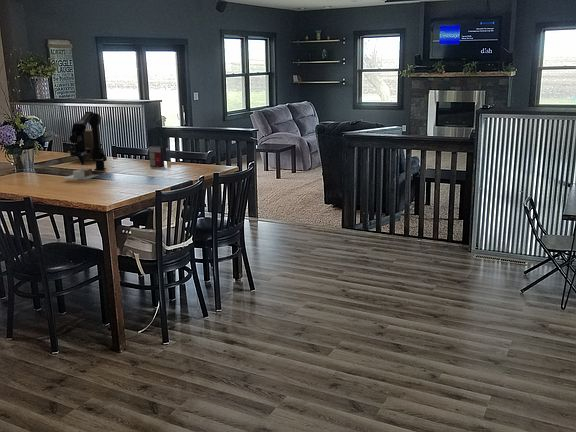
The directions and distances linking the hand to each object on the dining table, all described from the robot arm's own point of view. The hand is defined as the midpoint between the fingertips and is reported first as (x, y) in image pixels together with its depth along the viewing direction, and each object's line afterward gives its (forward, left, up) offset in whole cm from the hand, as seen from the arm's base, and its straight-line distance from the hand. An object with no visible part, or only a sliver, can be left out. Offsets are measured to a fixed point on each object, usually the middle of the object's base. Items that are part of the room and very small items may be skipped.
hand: (82, 165), depth 394 cm
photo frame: (-70, -38, -8) cm, 80 cm away
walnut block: (-5, 0, -5) cm, 7 cm away
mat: (+4, 0, -8) cm, 8 cm away
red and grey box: (-48, +32, -8) cm, 58 cm away
